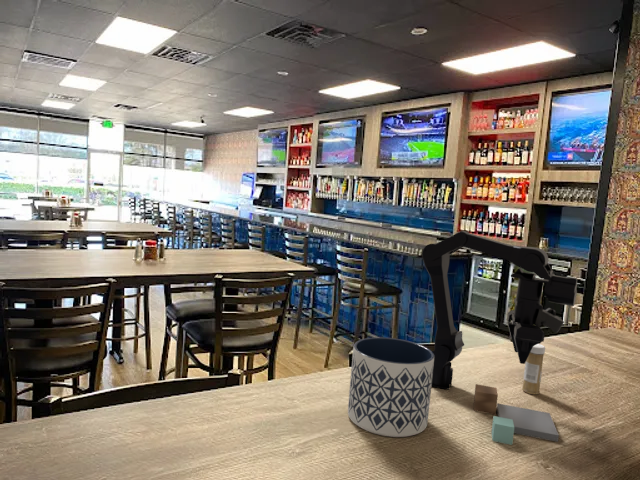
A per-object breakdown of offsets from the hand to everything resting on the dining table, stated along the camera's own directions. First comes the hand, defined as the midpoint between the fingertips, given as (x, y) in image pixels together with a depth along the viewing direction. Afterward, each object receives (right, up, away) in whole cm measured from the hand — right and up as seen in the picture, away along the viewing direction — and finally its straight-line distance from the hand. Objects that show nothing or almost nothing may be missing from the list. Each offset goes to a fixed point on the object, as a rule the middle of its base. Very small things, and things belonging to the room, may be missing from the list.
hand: (519, 357), depth 123 cm
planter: (-35, -11, -12) cm, 39 cm away
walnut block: (-10, -12, -2) cm, 16 cm away
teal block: (-11, -14, -17) cm, 24 cm away
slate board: (-2, -14, -9) cm, 16 cm away
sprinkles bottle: (+8, -13, +12) cm, 19 cm away
